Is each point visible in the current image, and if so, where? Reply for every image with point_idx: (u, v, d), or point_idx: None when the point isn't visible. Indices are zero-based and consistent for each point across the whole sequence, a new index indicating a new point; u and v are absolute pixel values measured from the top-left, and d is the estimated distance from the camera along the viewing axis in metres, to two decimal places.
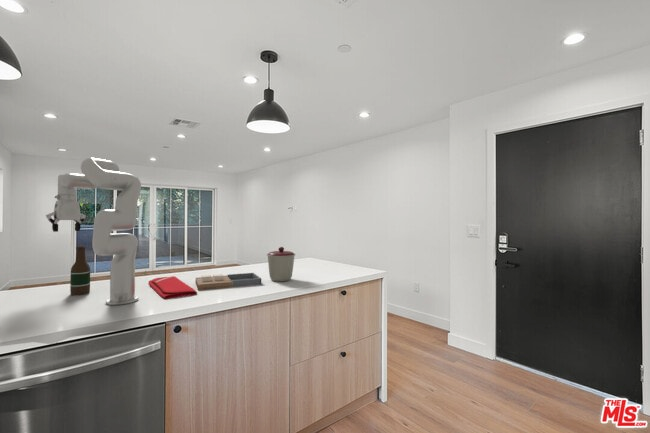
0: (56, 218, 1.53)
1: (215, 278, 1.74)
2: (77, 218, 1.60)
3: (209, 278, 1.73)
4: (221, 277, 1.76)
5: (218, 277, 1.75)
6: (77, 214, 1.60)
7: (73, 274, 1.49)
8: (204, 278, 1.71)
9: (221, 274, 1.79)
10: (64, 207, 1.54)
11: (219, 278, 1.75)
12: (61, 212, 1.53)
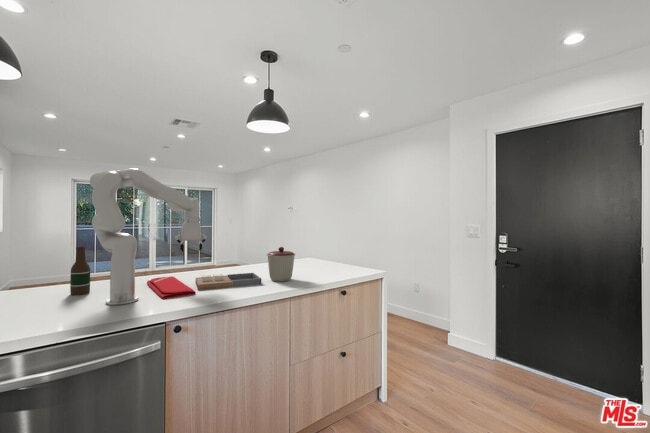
0: (199, 238, 1.73)
1: (215, 278, 1.74)
2: None
3: (209, 278, 1.73)
4: (221, 277, 1.76)
5: (218, 277, 1.75)
6: None
7: (73, 274, 1.49)
8: (204, 278, 1.71)
9: (221, 274, 1.79)
10: None
11: (219, 278, 1.75)
12: None
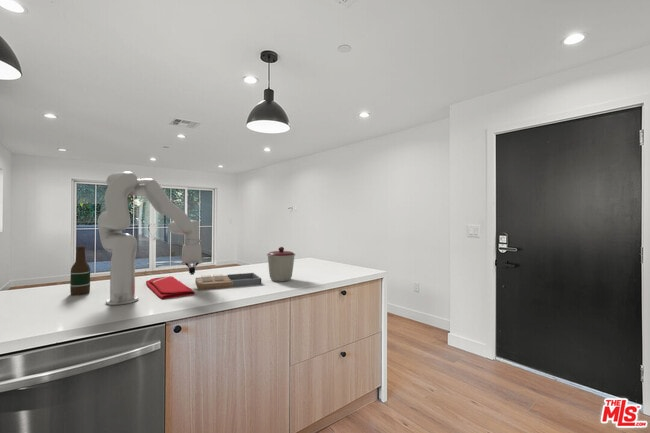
0: None
1: (215, 278, 1.74)
2: None
3: (209, 278, 1.73)
4: (221, 277, 1.76)
5: (218, 277, 1.75)
6: None
7: (73, 274, 1.49)
8: (204, 278, 1.71)
9: (221, 274, 1.79)
10: None
11: (219, 278, 1.75)
12: None
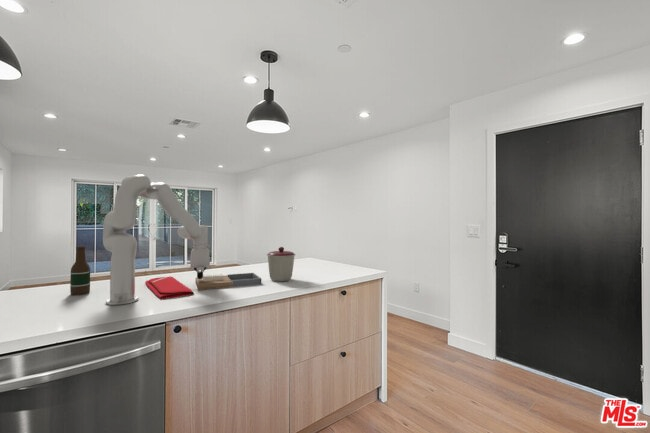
0: None
1: (215, 278, 1.74)
2: None
3: (211, 278, 1.73)
4: (221, 277, 1.76)
5: (218, 277, 1.75)
6: None
7: (73, 274, 1.49)
8: (206, 278, 1.72)
9: (221, 274, 1.79)
10: None
11: (219, 278, 1.75)
12: None
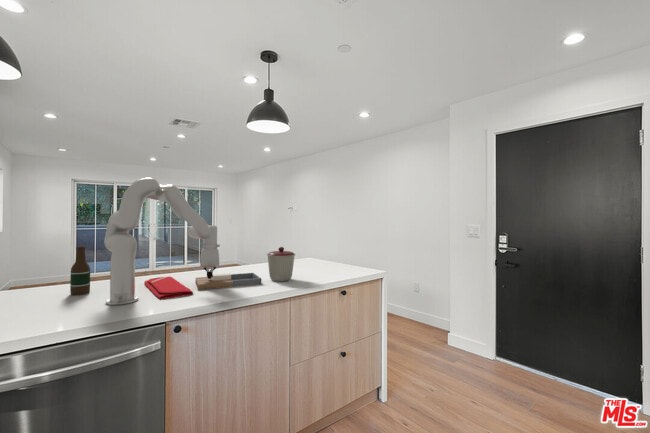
0: None
1: (223, 277, 1.76)
2: None
3: (220, 277, 1.75)
4: (229, 276, 1.78)
5: (226, 276, 1.77)
6: None
7: (73, 274, 1.49)
8: (215, 277, 1.74)
9: (229, 273, 1.81)
10: None
11: (227, 277, 1.77)
12: None
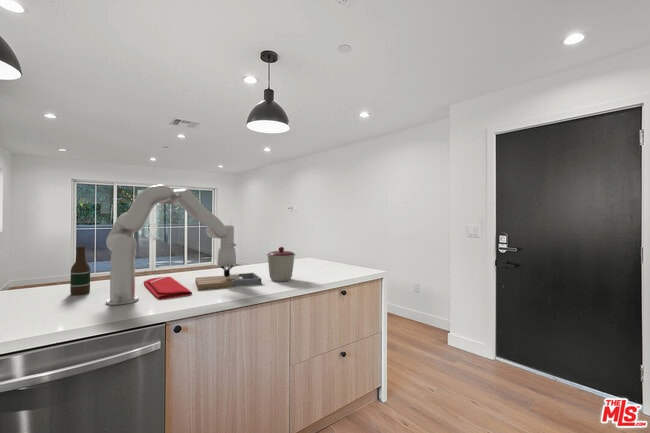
0: None
1: None
2: None
3: (237, 276, 1.79)
4: None
5: None
6: None
7: (73, 274, 1.49)
8: (232, 276, 1.78)
9: (241, 277, 1.84)
10: None
11: None
12: None
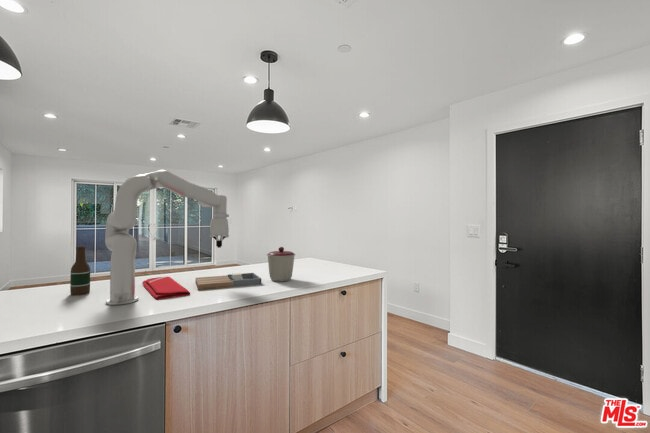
0: None
1: None
2: None
3: (239, 276, 1.80)
4: None
5: None
6: None
7: (73, 274, 1.49)
8: (235, 276, 1.79)
9: None
10: None
11: None
12: None
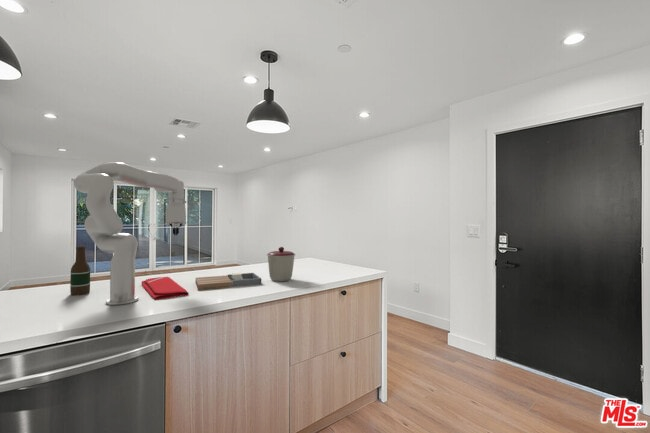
0: (180, 223, 1.71)
1: None
2: None
3: (239, 276, 1.80)
4: None
5: None
6: None
7: (73, 274, 1.49)
8: (235, 276, 1.79)
9: None
10: None
11: None
12: None
